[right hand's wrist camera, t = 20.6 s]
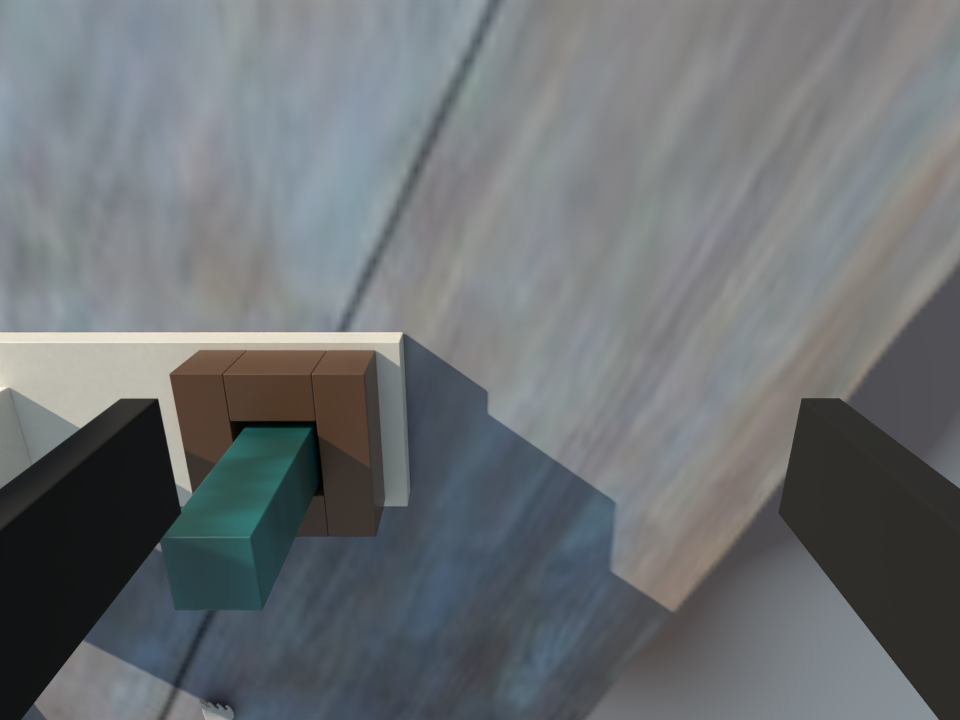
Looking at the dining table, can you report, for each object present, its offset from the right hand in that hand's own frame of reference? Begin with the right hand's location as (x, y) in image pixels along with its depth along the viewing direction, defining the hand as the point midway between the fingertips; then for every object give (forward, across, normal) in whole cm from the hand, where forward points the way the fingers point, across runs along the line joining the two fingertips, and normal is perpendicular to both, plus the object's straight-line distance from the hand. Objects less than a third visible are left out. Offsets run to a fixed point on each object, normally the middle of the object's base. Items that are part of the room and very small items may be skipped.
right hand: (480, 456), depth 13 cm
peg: (+25, +12, +12) cm, 30 cm away
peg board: (+27, +20, +12) cm, 35 cm away
